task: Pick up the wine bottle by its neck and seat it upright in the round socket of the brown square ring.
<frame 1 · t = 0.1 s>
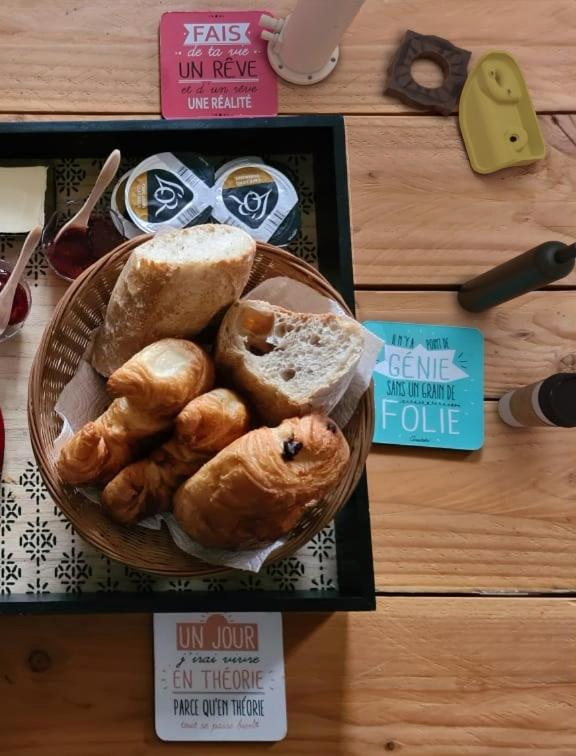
plastic component: (491, 122, 130), on the table
wine bottle: (473, 297, 125), on the table
brown square ring: (424, 75, 131), on the table
coffee cup: (514, 409, 123), on the table
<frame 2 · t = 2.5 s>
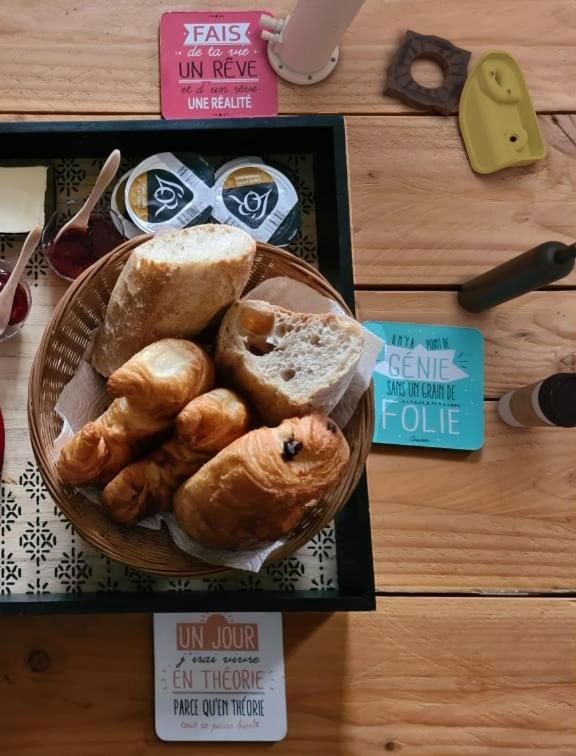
nothing on the table moved.
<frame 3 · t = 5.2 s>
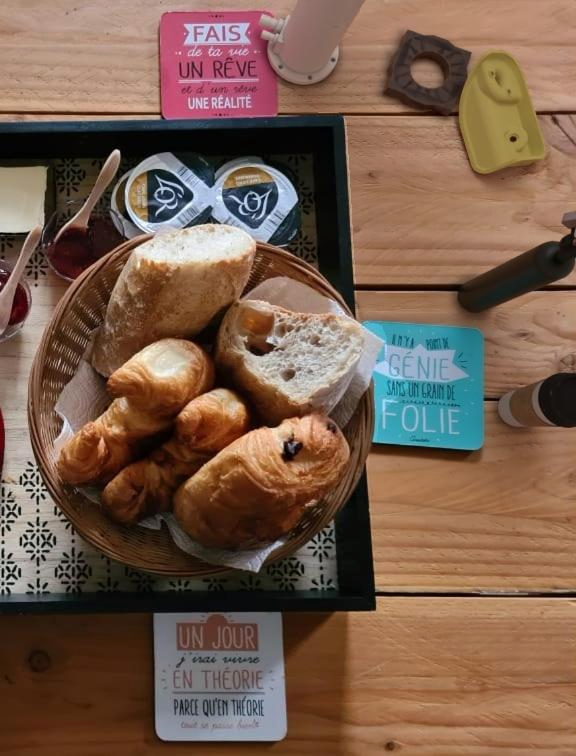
hand: (573, 251, 101), 25 cm above the table, tool pointing down, fingers closed on wine bottle
wine bottle: (473, 297, 125), on the table, touching gripper
everything else where it was.
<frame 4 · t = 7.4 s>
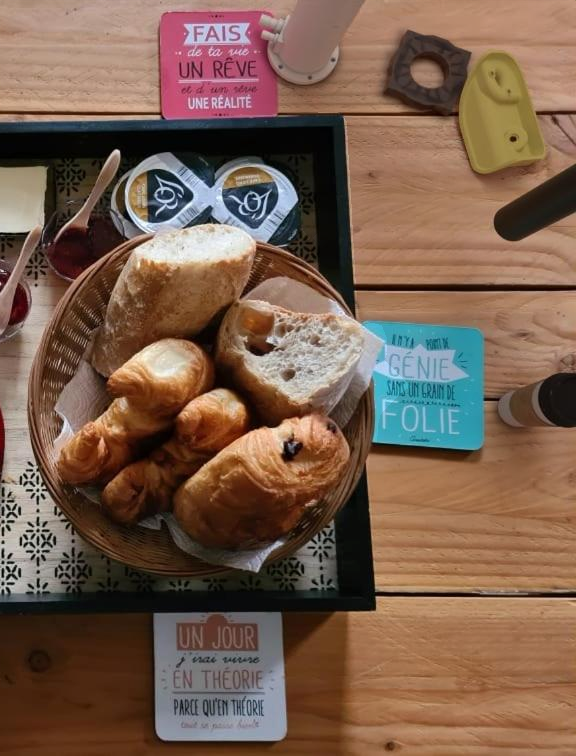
wine bottle: (510, 224, 113), point 14 cm above the table, touching gripper
everything else where it was.
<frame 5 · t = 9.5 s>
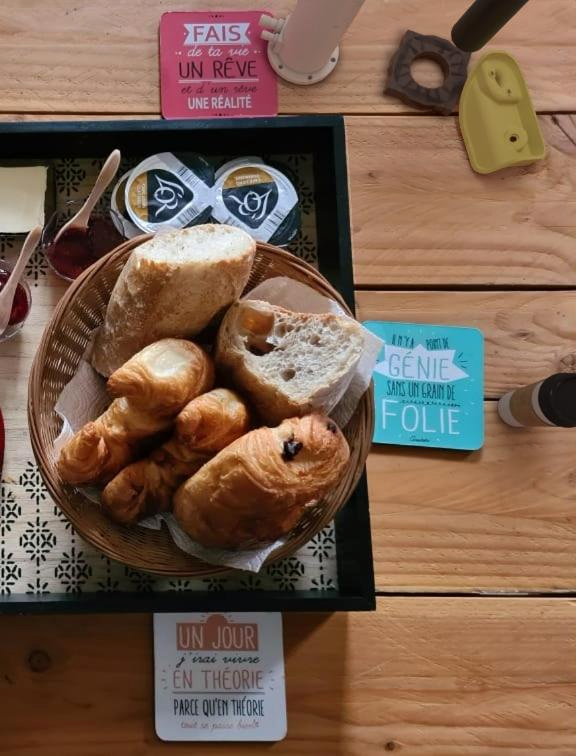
wine bottle: (467, 36, 117), point 14 cm above the table, touching gripper
everything else where it was.
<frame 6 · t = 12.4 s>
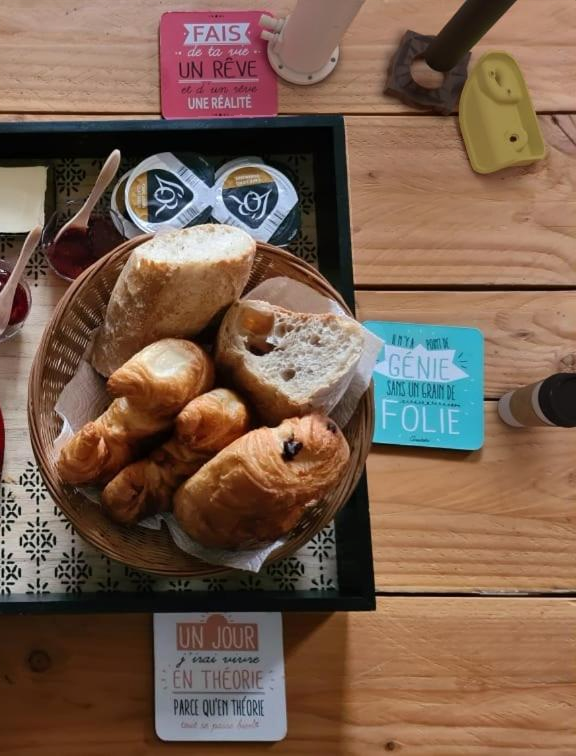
wine bottle: (440, 57, 126), point 6 cm above the table, touching gripper
everything else where it was.
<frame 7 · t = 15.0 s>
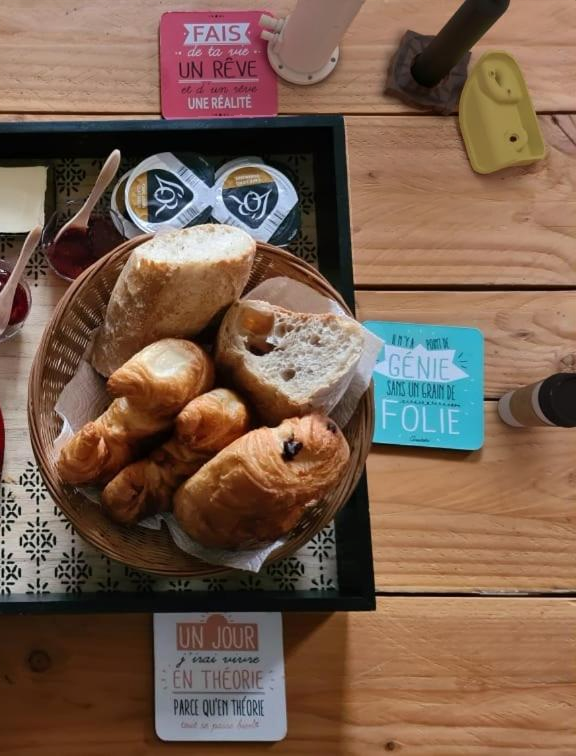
wine bottle: (423, 76, 131), resting in brown square ring
everything else where it was.
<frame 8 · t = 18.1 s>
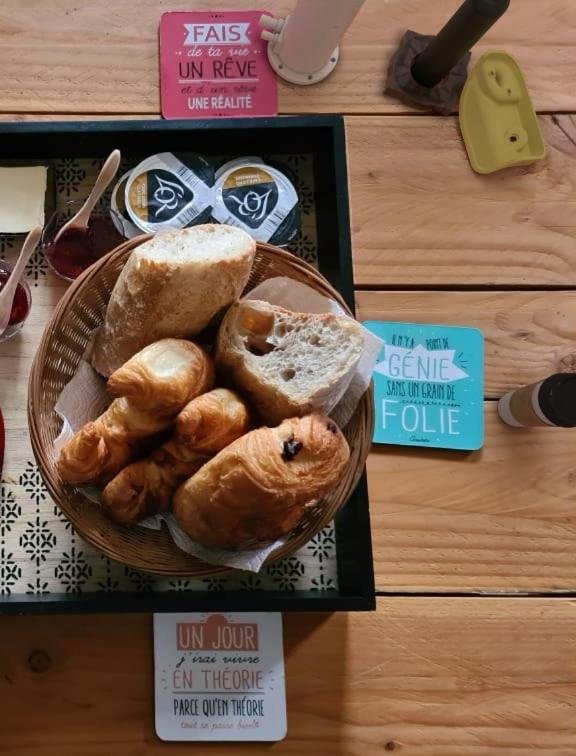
nothing on the table moved.
at the end: wine bottle 0.1 cm off-centre in the brown square ring, point 0.0 cm above the brown square ring's base; wine bottle tilted 0°; the gripper is holding nothing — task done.
